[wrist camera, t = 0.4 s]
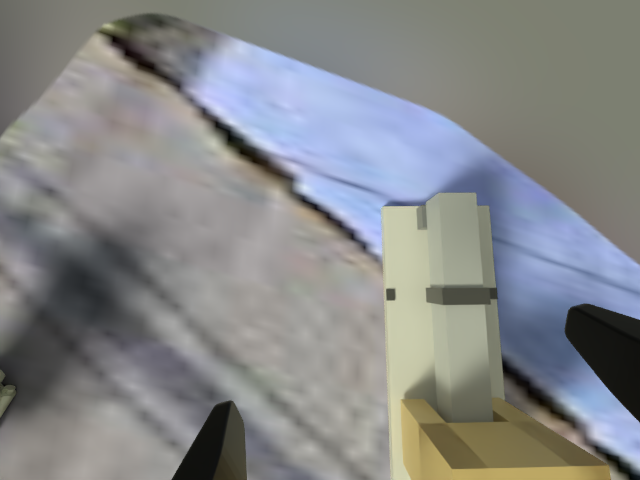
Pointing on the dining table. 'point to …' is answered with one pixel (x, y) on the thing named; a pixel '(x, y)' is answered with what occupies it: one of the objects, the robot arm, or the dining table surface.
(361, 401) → the dining table surface
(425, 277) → the pipe stand
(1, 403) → the pneumatic valve
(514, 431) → the sleeve
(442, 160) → the dining table surface
